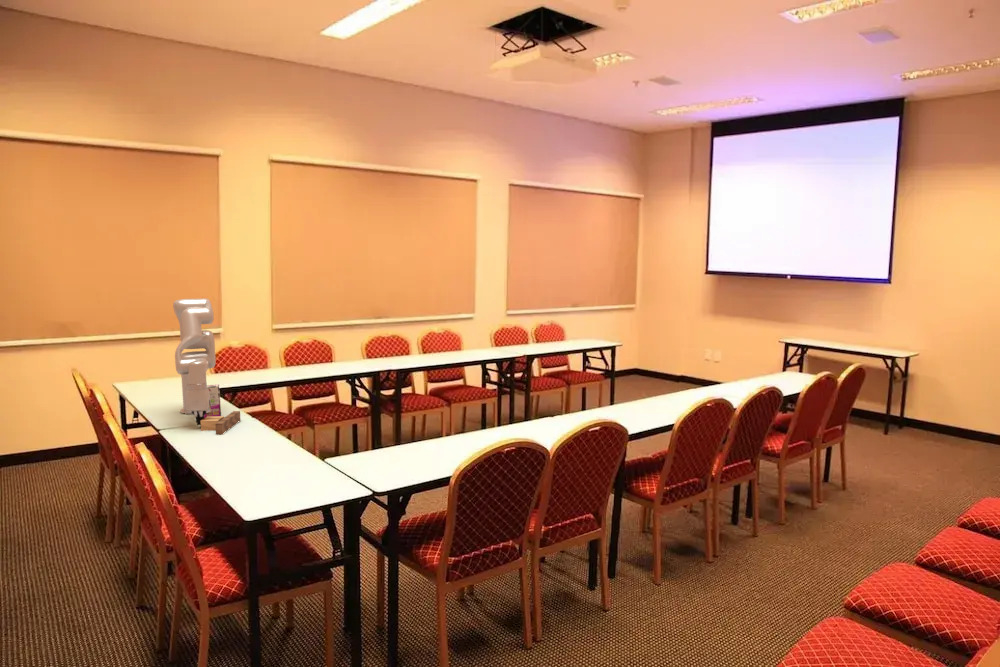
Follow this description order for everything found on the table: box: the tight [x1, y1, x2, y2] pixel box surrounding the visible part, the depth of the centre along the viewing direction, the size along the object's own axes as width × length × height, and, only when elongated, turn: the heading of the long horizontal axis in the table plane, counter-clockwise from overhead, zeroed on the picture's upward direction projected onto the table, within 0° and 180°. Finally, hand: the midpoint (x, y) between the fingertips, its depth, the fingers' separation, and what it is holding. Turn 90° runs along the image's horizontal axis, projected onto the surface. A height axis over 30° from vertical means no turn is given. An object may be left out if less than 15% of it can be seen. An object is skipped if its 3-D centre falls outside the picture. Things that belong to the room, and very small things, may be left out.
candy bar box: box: [199, 384, 222, 418], centre depth 335 cm, size 11×5×16 cm, turn 112°
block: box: [200, 415, 225, 431], centre depth 316 cm, size 8×8×5 cm
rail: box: [215, 410, 241, 435], centre depth 317 cm, size 24×3×5 cm, turn 3°
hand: (200, 424), depth 316 cm, fingers closed
